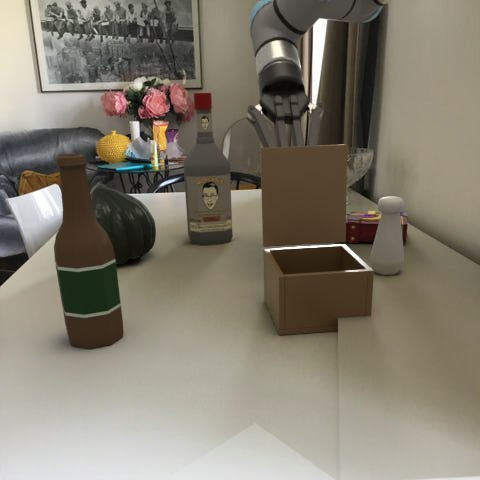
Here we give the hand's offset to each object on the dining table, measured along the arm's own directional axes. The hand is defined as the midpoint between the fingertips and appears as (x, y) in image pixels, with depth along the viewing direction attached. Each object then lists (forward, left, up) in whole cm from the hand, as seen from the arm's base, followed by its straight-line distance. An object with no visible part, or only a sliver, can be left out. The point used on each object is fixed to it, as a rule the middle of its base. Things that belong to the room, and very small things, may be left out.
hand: (298, 193), depth 87 cm
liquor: (+21, -31, -16) cm, 41 cm away
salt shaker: (-15, -10, -16) cm, 24 cm away
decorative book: (-13, -34, -16) cm, 40 cm away
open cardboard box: (-3, +11, -15) cm, 19 cm away
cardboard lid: (-1, +4, 0) cm, 4 cm away
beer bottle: (+26, +22, -16) cm, 37 cm away
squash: (+36, -15, -16) cm, 42 cm away
